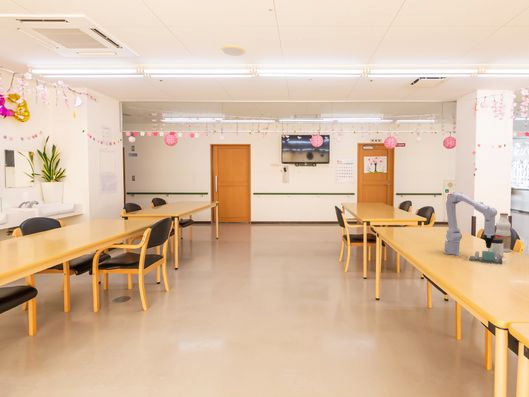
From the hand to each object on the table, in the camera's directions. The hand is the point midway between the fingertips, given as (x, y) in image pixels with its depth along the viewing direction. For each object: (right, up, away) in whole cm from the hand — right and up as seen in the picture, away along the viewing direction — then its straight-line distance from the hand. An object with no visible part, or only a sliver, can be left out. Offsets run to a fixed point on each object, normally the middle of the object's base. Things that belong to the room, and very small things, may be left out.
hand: (488, 246), depth 227 cm
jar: (+14, -8, +14) cm, 22 cm away
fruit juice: (+29, -7, +29) cm, 42 cm away
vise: (-1, -9, +1) cm, 10 cm away
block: (0, -8, +1) cm, 8 cm away
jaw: (-5, -8, +4) cm, 10 cm away
